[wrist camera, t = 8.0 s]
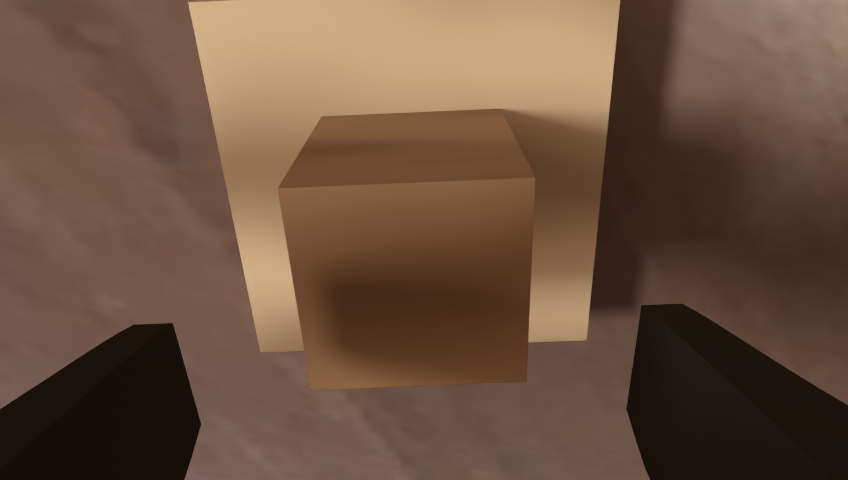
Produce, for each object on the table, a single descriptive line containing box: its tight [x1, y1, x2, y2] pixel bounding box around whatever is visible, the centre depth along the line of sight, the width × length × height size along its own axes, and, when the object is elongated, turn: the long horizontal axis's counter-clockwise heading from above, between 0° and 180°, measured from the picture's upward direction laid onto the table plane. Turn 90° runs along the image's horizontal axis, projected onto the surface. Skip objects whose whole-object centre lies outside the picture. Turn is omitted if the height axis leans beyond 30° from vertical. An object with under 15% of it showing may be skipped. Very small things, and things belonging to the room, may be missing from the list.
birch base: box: [188, 0, 620, 352], centre depth 16 cm, size 10×10×2 cm
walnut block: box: [277, 109, 536, 390], centre depth 13 cm, size 4×4×5 cm
